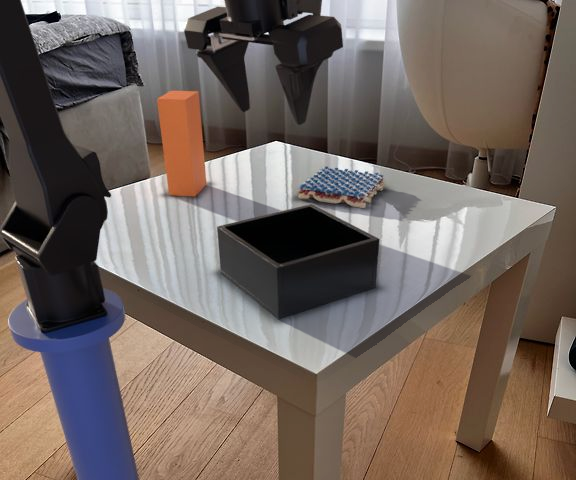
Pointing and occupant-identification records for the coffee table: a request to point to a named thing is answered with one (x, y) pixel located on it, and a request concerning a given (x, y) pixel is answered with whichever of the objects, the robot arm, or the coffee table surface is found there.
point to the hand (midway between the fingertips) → (272, 116)
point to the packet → (182, 142)
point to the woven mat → (342, 186)
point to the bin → (297, 259)
